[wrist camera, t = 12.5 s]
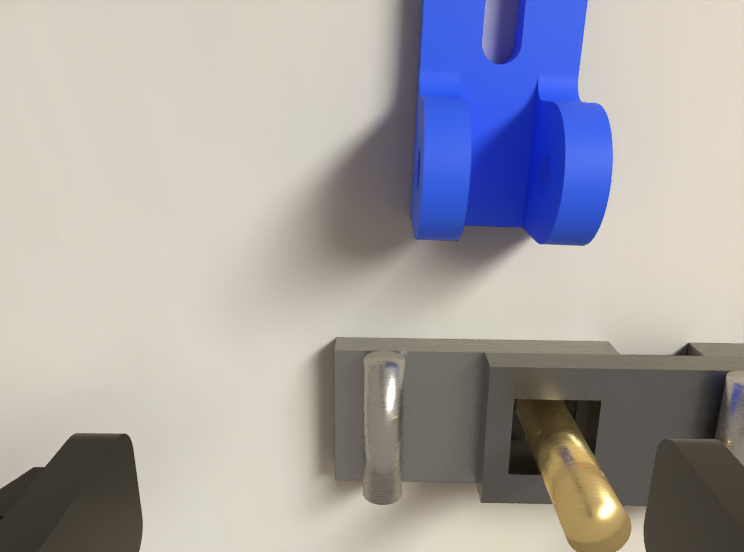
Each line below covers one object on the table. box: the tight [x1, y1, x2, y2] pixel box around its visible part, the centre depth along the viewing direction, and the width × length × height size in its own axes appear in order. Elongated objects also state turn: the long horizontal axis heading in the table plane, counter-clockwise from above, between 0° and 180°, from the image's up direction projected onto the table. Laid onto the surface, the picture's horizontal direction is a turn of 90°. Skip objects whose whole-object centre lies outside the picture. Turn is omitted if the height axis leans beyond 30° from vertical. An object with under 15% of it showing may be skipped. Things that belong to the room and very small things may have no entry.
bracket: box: [411, 0, 613, 246], centre depth 31 cm, size 18×8×9 cm, turn 178°
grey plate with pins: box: [334, 337, 744, 506], centre depth 38 cm, size 9×26×6 cm, turn 89°
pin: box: [516, 399, 631, 552], centre depth 35 cm, size 3×3×12 cm
